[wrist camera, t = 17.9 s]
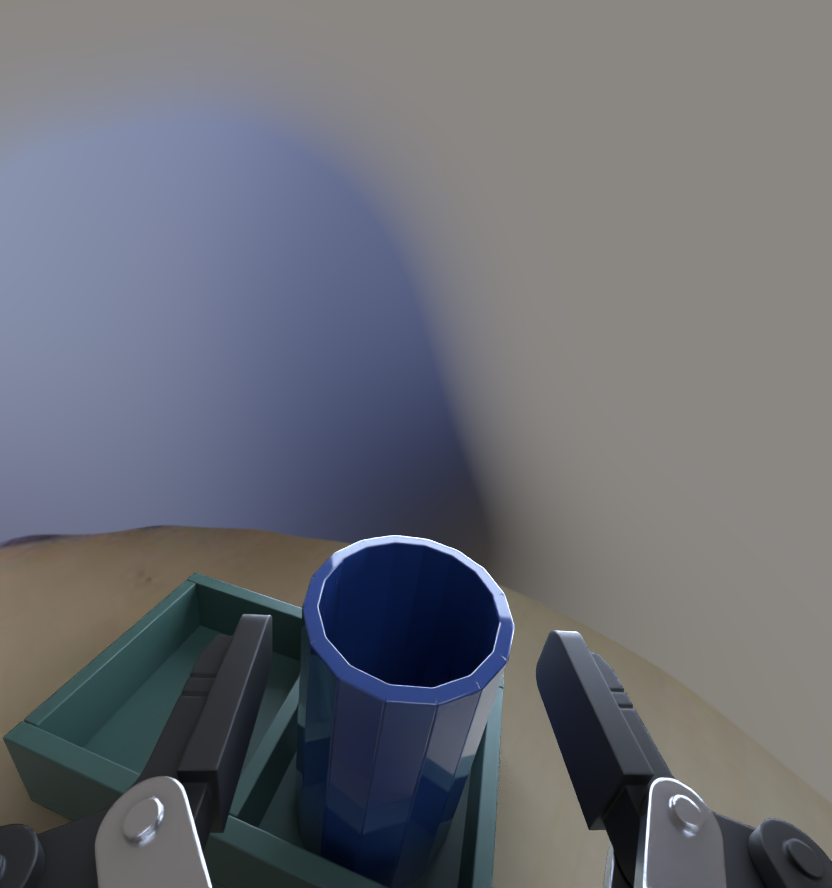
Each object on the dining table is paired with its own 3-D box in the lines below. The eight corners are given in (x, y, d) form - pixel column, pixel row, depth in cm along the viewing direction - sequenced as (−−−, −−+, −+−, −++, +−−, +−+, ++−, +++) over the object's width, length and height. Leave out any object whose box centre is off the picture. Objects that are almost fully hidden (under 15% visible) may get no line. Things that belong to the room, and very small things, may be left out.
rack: (460, 1015, 12) (488, 966, 10) (30, 800, 14) (1, 738, 13) (486, 727, 19) (504, 675, 18) (200, 624, 22) (195, 571, 20)
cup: (444, 713, 19) (490, 545, 15) (459, 902, 13) (541, 713, 9) (315, 703, 18) (326, 527, 14) (274, 895, 13) (274, 693, 9)
